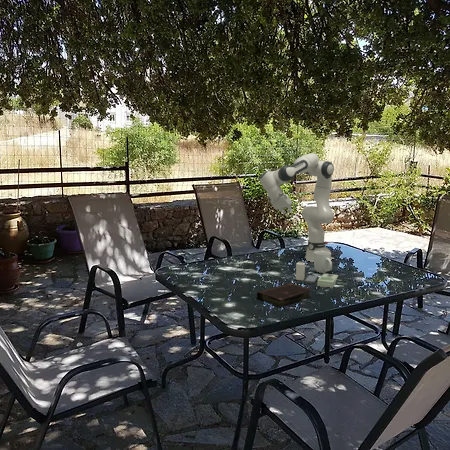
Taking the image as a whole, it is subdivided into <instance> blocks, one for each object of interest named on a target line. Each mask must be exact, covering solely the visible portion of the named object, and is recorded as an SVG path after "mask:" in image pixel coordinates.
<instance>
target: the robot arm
mask: <svg viewBox="0 0 450 450" xmlns="http://www.w3.org/2000/svg"><path fill="white" fill-rule="evenodd" d="M334 171H335V166H334V164H333V162H330V161H327V160H326V161H325V160H319V156H318V154H316V153H314V152H311V153H306V154H304V155H301V156H300V157H298V158H296V159H295V160H294V161H293V164H291V165H289V164H287V165H282V166H281V167H280V168H278V169H276V170H270V171H269V170H266V171H264V172H263V173H261V174H260V176H259V182H260V184H261V185H262V186H261V187H262V188H263V189H264V190H265V191H266V193H267V195H268V198H267V201H268V202H270V204H271V206H272V207H273V208H274V209H275V210H279V211H280V212H281V213H282V215H285V214H287V212H286V210H285V209H284V208H287V209H288V212H289V213H291V214H292V213H293V209H292V205H293V200H292V199H291V198H290V197H289V196H288V194H286V193H285V192H284V191H283V190H282V187H280V186H281V185H284V184H285V183H287V182H291V181H293V179H294V178H295V177H296V175H297V174H299V175H301V174H306V175H307V176H310V177H316V182H315V186H314V190H313V200H314V201H315V202H316V206H314V205H313V206H312V205H310V206H308V205H307V206H305V207H304V208H303V209H302V212H301V216H302V218H303V219H304V221H305V223H306V225H307V228H308V240H307V247H306V253H305V256H304V259H305V258H306V260H307V261H306V260H305V261H306V262H308V261H310V262H309V263H313V262H314V252H315V251H327V252H330V253H331V254H332V252H331V250H330V249H329V248H328V247H326V245H328V241H325V235H326V234H325V230H324V228H323V227H322V226H321V224H323V225H324V224H331V223H332V222H333V220H334V219H335V215H334V212H333V210H332V208H331V206H330V197H331V196H330V195H331V190H332V182H333V177H332V176H333V174H334ZM332 259H334V260H335V257H334V256H333V257H332V256H331V260H332ZM332 261H333V260H332Z"/></svg>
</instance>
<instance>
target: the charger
mask: <svg viewBox="0 0 450 450" xmlns="http://www.w3.org/2000/svg"><path fill="white" fill-rule="evenodd" d="M295 265H296V267H295V270H296V271H295V280H297V281H305V279H306V278H305V277H306V276H305V275H306V262H303V261H298V262H297V263H296V264H295Z"/></svg>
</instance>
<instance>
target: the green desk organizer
mask: <svg viewBox="0 0 450 450" xmlns="http://www.w3.org/2000/svg"><path fill="white" fill-rule="evenodd" d="M337 278H338V279H339V274H331V273H330V274H329V273H322V275H321V276H319V277H318V279H317V282H316V283H317V284H316V287H318V286H320V288H326V287H330V288H329V289H333V288H334V287H335V285H334V284H336V283H337V281H338V279H337ZM336 280H337V281H336ZM335 282H336V283H335ZM333 286H334V287H333Z"/></svg>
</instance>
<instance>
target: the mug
mask: <svg viewBox="0 0 450 450" xmlns="http://www.w3.org/2000/svg"><path fill="white" fill-rule="evenodd" d="M331 257H332V252H331V253H330V252H327V251H315V252H314V263H313V265H314V270H315V271H316V273H318V272H319V274H327V273H328V272H330V271H332V269H333V262H332V261H331ZM326 272H327V273H326Z"/></svg>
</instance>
